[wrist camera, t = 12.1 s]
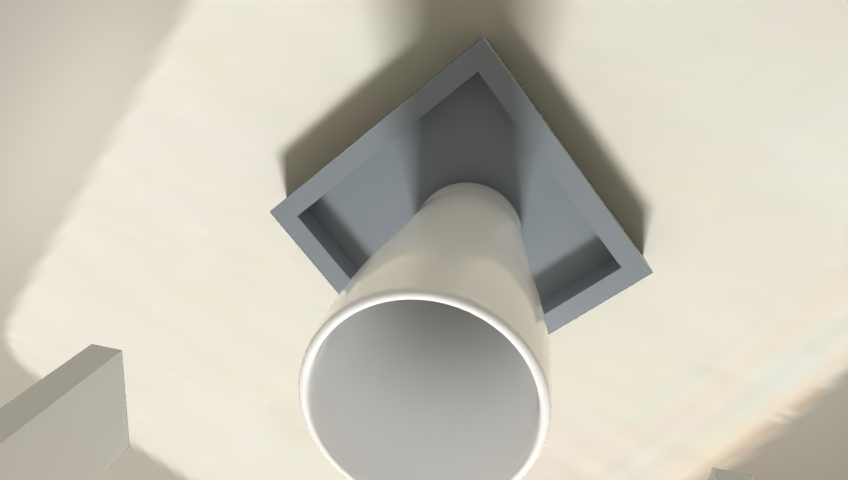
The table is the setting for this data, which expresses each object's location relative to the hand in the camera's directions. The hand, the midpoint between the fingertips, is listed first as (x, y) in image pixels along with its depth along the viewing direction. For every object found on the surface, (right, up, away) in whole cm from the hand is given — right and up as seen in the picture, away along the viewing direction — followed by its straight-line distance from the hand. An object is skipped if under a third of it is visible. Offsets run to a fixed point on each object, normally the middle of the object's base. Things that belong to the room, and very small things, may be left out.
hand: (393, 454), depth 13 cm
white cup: (+3, +5, +16) cm, 17 cm away
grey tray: (+2, +5, +17) cm, 18 cm away
